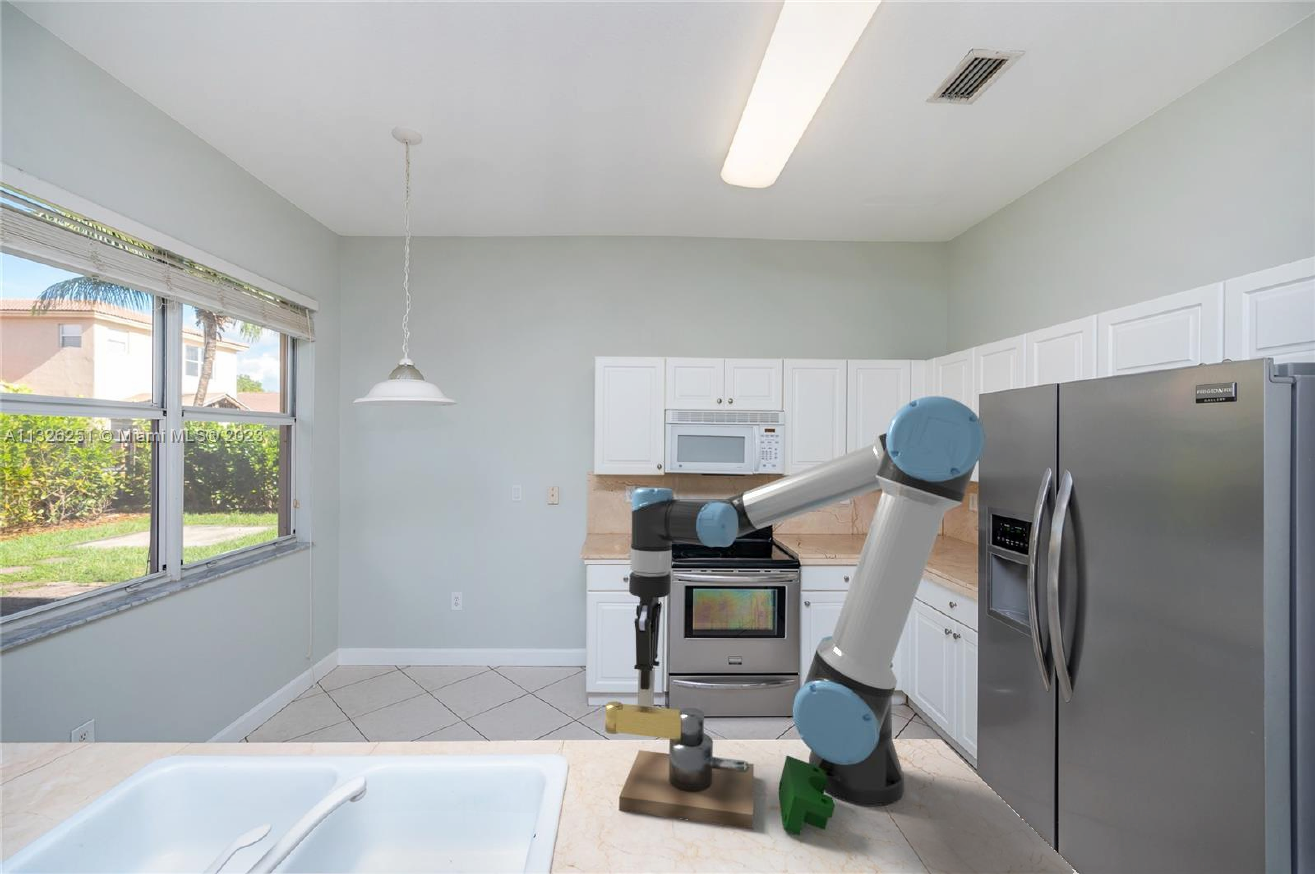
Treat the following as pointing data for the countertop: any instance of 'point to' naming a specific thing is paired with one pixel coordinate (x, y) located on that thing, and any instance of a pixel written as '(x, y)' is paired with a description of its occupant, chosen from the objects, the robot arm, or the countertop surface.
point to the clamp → (803, 796)
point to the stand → (688, 794)
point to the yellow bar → (656, 722)
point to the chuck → (697, 765)
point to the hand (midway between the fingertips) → (645, 704)
